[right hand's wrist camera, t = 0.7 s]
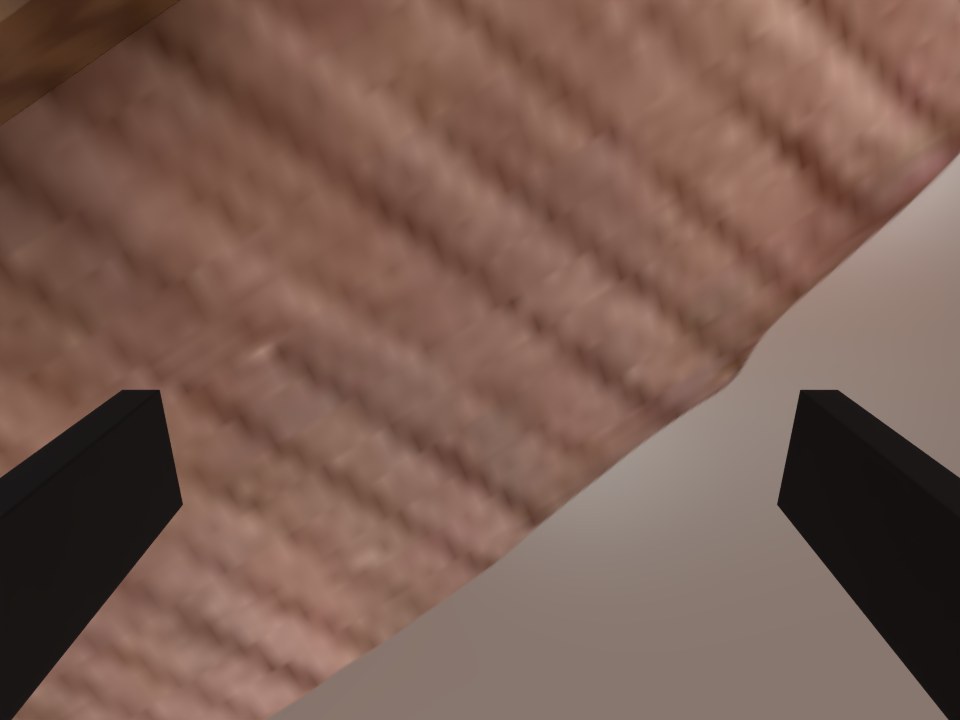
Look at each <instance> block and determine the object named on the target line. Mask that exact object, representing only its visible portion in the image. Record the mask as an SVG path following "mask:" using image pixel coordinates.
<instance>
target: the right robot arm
mask: <svg viewBox="0 0 960 720" xmlns="http://www.w3.org/2000/svg"><path fill="white" fill-rule="evenodd" d="M182 505H183V503H182V498H181V493H180V488H179V483H178V478H177V473H176V468H175V463H174V458H173V453H172V449H171V444H170V439H169V434H168V429H167V424H166V419H165V414H164V409H163V404H162V399H161V394H160V390H121V391H120V392H119V393H117V394H116V395H115V396H113V397H112V398H110V399H109V400H108V401H106V402H105V403H103V404H102V405H101V406H99V407H98V408H97V409H95V410H94V411H92V412H91V413H90V414H88V415H87V416H85V417H84V418H83V419H81V420H80V421H79V422H77V423H76V424H74V425H73V426H72V427H70V428H69V429H67V430H66V431H65V432H63V433H62V434H61V435H59V436H58V437H56V438H55V439H54V440H52V441H51V442H49V443H48V444H47V445H45V446H44V447H43V448H41V449H40V450H38V451H37V452H36V453H34V454H33V455H31V456H30V457H29V458H27V459H26V460H25V461H23V462H22V463H20V464H19V465H18V466H16V467H15V468H13V469H12V470H11V471H9V472H8V473H7V474H5V475H4V476H2V477H1V478H0V720H12V718H13V717H14V716H15V715H16V713H17V712H18V711H19V710H20V708H21V707H22V706H23V705H24V703H25V702H26V701H27V700H28V698H29V697H30V696H31V695H32V693H33V692H34V691H35V690H36V688H37V687H38V686H39V685H40V683H41V682H42V681H43V680H44V678H45V677H46V676H47V674H48V673H49V672H50V671H51V669H52V668H53V667H54V666H55V664H56V663H57V662H58V661H59V659H60V658H61V657H62V656H63V654H64V653H65V652H66V651H67V649H68V648H69V647H70V646H71V644H72V643H73V642H74V641H75V639H76V638H77V637H78V636H79V634H80V633H81V632H82V631H83V629H84V628H85V627H86V626H87V624H88V623H89V622H90V621H91V619H92V618H93V617H94V615H95V614H96V613H97V612H98V610H99V609H100V608H101V607H102V605H103V604H104V603H105V602H106V600H107V599H108V598H109V597H110V595H111V594H112V593H113V592H114V590H115V589H116V588H117V587H118V585H119V584H120V583H121V582H122V580H123V579H124V578H125V577H126V575H127V574H128V573H129V572H130V570H131V569H132V568H133V567H134V565H135V564H136V563H137V562H138V560H139V559H140V558H141V557H142V555H143V554H144V553H145V551H146V550H147V549H148V548H149V546H150V545H151V544H152V543H153V541H154V540H155V539H156V538H157V536H158V535H159V534H160V533H161V531H162V530H163V529H164V528H165V526H166V525H167V524H168V523H169V521H170V520H171V519H172V518H173V516H174V515H175V514H176V513H177V511H178V510H179V509H180V508H181V506H182ZM777 505H778V506H779V508H780V509H781V510H782V511H783V513H784V514H785V515H786V516H787V518H788V519H789V520H790V521H791V522H792V524H793V525H794V526H795V528H796V529H797V530H798V531H799V533H800V534H801V535H802V536H803V538H804V539H805V540H806V541H807V543H808V544H809V545H810V546H811V548H812V549H813V550H814V551H815V553H816V554H817V555H818V556H819V558H820V559H821V560H822V562H823V563H824V564H825V565H826V567H827V568H828V569H829V570H830V571H831V573H832V574H833V575H834V577H835V578H836V579H837V580H838V582H839V583H840V584H841V585H842V587H843V588H844V589H845V590H846V592H847V593H848V594H849V595H850V597H851V598H852V599H853V600H854V602H855V603H856V604H857V605H858V607H859V608H860V609H861V610H862V612H863V613H864V614H865V615H866V617H867V618H868V619H869V621H870V622H871V623H872V624H873V626H874V627H875V628H876V629H877V631H878V632H879V633H880V634H881V636H882V637H883V638H884V639H885V641H886V642H887V643H888V644H889V646H890V647H891V648H892V649H893V651H894V652H895V653H896V654H897V656H898V657H899V658H900V659H901V661H902V662H903V663H904V664H905V666H906V667H907V668H908V669H909V671H910V672H911V673H912V674H913V676H914V677H915V678H916V680H917V681H918V682H919V683H920V684H921V686H922V687H923V688H924V690H925V691H926V692H927V693H928V695H929V696H930V697H931V698H932V700H933V701H934V702H935V703H936V705H937V706H938V707H939V708H940V710H941V711H942V712H943V713H944V715H945V716H946V717H947V718H948V720H960V478H959V477H958V476H956V475H955V474H953V473H952V472H951V471H949V470H948V469H947V468H945V467H944V466H942V465H941V464H940V463H938V462H937V461H935V460H934V459H933V458H931V457H930V456H929V455H927V454H926V453H924V452H923V451H922V450H920V449H919V448H917V447H916V446H915V445H913V444H912V443H910V442H909V441H908V440H906V439H905V438H904V437H902V436H901V435H899V434H898V433H897V432H895V431H894V430H893V429H891V428H890V427H888V426H887V425H886V424H884V423H883V422H881V421H880V420H879V419H877V418H876V417H875V416H873V415H872V414H870V413H869V412H868V411H866V410H865V409H863V408H862V407H861V406H859V405H858V404H857V403H855V402H854V401H852V400H851V399H850V398H848V397H847V396H845V395H844V394H843V393H841V392H840V391H838V390H800V394H799V399H798V404H797V409H796V414H795V419H794V424H793V429H792V434H791V439H790V444H789V449H788V453H787V458H786V463H785V468H784V473H783V478H782V483H781V488H780V493H779V498H778V503H777Z"/></svg>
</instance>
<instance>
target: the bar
mask: <svg viewBox="0 0 960 720" xmlns="http://www.w3.org/2000/svg"><path fill="white" fill-rule="evenodd" d="M178 1H179V0H0V125H2V124H3V123H5V122H6V121H8V120H9V119H10V118H12V117H13V116H15V115H16V114H18V113H19V112H20V111H22V110H23V109H25V108H26V107H28V106H29V105H30V104H32V103H33V102H35V101H36V100H38V99H39V98H40V97H42V96H43V95H45V94H46V93H48V92H49V91H50V90H52V89H53V88H55V87H56V86H58V85H59V84H60V83H62V82H63V81H65V80H66V79H68V78H69V77H70V76H72V75H73V74H75V73H76V72H78V71H79V70H80V69H82V68H83V67H85V66H86V65H88V64H89V63H90V62H92V61H93V60H95V59H96V58H98V57H99V56H100V55H102V54H103V53H105V52H106V51H108V50H109V49H110V48H112V47H113V46H115V45H116V44H118V43H119V42H120V41H122V40H123V39H125V38H126V37H128V36H129V35H130V34H132V33H133V32H135V31H136V30H138V29H139V28H140V27H142V26H143V25H145V24H146V23H148V22H149V21H150V20H152V19H153V18H155V17H156V16H158V15H159V14H160V13H162V12H163V11H165V10H166V9H168V8H169V7H170V6H172V5H173V4H175V3H176V2H178Z"/></svg>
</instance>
